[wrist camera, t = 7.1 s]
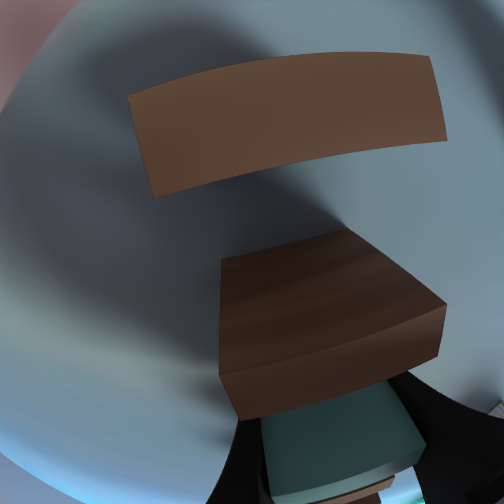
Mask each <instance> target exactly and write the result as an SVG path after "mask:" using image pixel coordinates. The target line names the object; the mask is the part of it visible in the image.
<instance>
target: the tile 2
mask: <svg viewBox="0 0 504 504" xmlns="http://www.w3.org/2000/svg"><path fill="white" fill-rule="evenodd" d="M446 308H447V303H445V302H444V301H443V300H442V299H441V298H439V297H438V296H437V295H436V294H435V293H433V292H432V291H431V290H430V289H428V288H427V287H426V286H425V285H423V284H422V283H421V282H420V281H418V280H417V279H416V278H415V277H413V276H412V275H411V274H410V273H408V272H407V271H406V270H404V269H403V268H402V267H400V266H399V265H398V264H397V263H395V262H394V261H393V260H391V259H390V258H389V257H387V256H386V255H385V254H383V253H382V252H381V251H379V250H378V249H376V248H375V247H374V246H372V245H371V244H370V243H368V242H367V241H365V240H364V239H363V238H361V237H360V236H358V235H357V234H356V233H354V232H353V231H351V230H350V229H345V230H341V231H337V232H333V233H329V234H325V235H321V236H317V237H313V238H309V239H305V240H301V241H297V242H293V243H289V244H285V245H281V246H277V247H272V248H268V249H264V250H260V251H256V252H252V253H248V254H244V255H240V256H236V257H232V258H228V259H224V260H222V261H221V289H220V327H219V377H220V379H221V381H222V384H223V386H224V388H225V390H226V392H227V394H228V397H229V399H230V401H231V403H232V405H233V407H234V409H235V411H236V413H237V416H238V418H239V420H240V421H243V420H248V419H254V418H259V417H264V416H268V415H273V414H278V413H282V412H286V411H290V410H294V409H298V408H302V407H306V406H309V405H313V404H316V403H320V402H323V401H327V400H330V399H333V398H336V397H339V396H342V395H345V394H348V393H351V392H354V391H357V390H360V389H363V388H365V387H368V386H371V385H374V384H376V383H379V382H381V381H384V380H386V379H389V378H391V377H394V376H396V375H398V374H401V373H403V372H405V371H408V370H410V369H412V368H414V367H416V366H419V365H421V364H423V363H425V362H427V361H429V360H431V359H433V358H435V357H437V356H438V352H439V347H440V343H441V338H442V332H443V327H444V321H445V315H446Z"/></svg>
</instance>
